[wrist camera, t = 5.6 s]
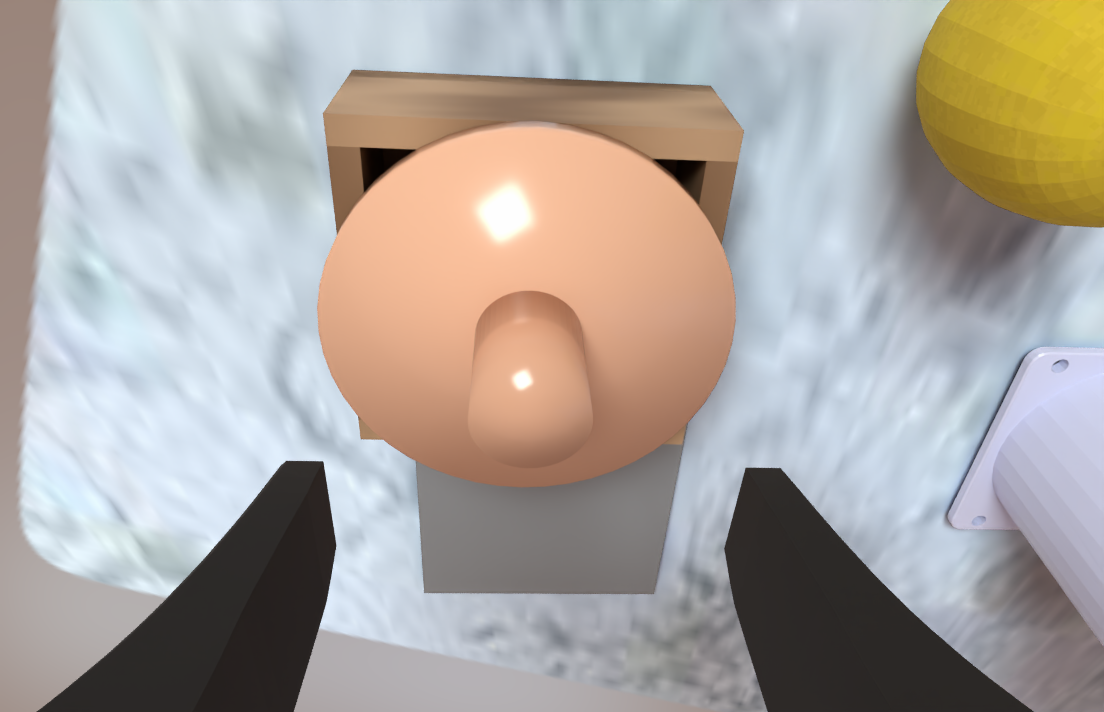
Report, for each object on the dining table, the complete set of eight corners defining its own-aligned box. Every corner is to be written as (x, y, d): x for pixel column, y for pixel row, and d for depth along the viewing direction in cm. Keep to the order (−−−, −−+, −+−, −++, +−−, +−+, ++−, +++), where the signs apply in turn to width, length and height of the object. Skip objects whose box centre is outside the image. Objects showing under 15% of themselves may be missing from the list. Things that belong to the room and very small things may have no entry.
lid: (767, 131, 17) (828, 207, 13) (693, 470, 22) (723, 582, 19) (299, 110, 16) (243, 183, 13) (345, 464, 22) (314, 578, 18)
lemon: (964, 181, 21) (1163, 340, 15) (819, 71, 19) (973, 196, 13) (1142, -2, 19) (1480, 91, 12) (995, -149, 17) (1299, -132, 10)
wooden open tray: (710, 85, 20) (744, 130, 17) (663, 372, 25) (682, 444, 22) (352, 69, 19) (323, 113, 16) (379, 365, 24) (360, 439, 21)
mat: (686, 409, 26) (688, 416, 25) (652, 585, 31) (653, 594, 30) (413, 404, 25) (412, 411, 25) (425, 584, 30) (424, 592, 30)
